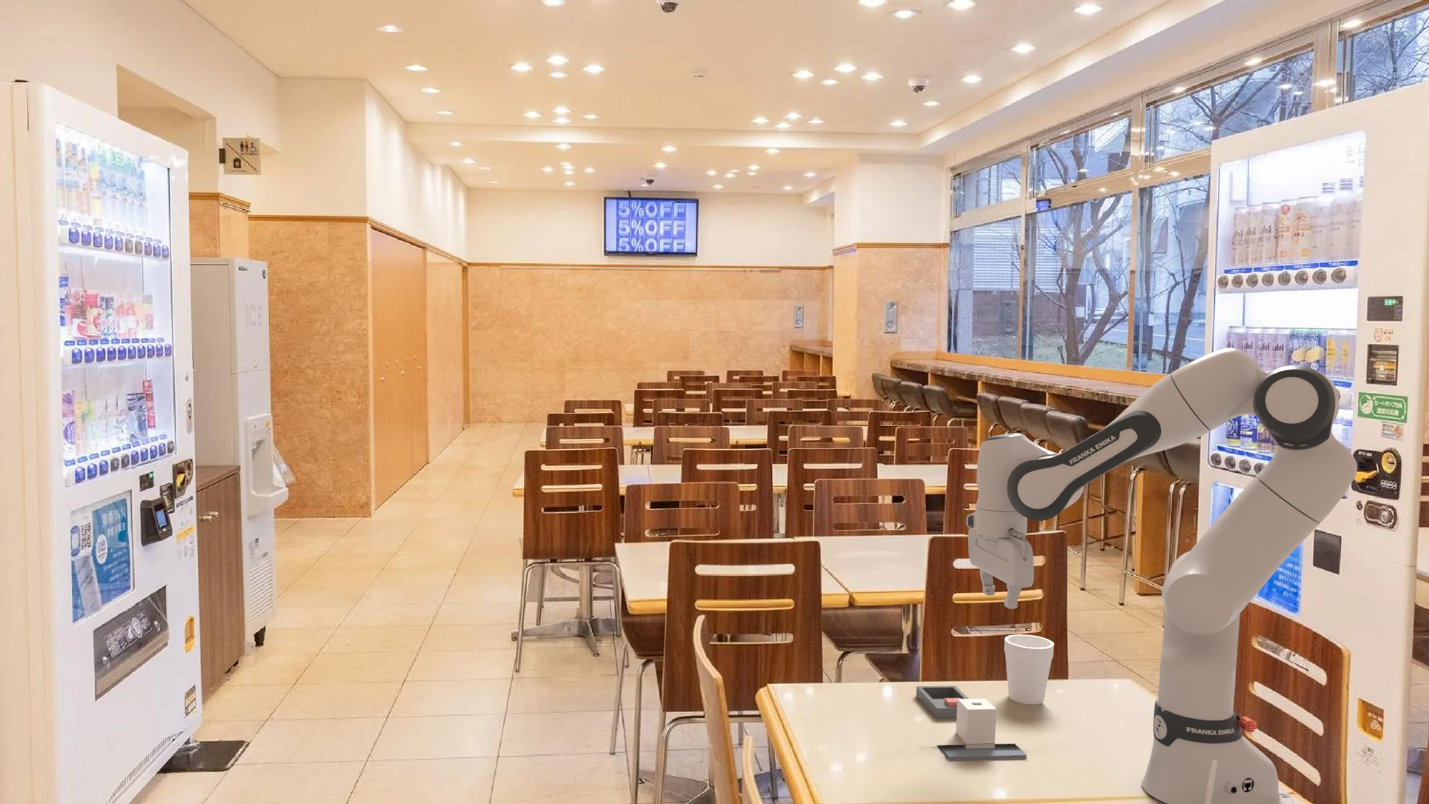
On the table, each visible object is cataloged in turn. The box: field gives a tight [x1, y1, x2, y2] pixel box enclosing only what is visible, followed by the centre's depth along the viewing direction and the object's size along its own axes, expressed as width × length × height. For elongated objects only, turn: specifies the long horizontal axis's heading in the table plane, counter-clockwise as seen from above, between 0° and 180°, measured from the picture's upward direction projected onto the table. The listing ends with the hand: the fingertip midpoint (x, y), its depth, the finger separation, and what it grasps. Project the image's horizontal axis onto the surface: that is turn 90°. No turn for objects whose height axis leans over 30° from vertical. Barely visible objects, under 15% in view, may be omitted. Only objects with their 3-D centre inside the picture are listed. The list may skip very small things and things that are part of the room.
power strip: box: [915, 685, 970, 720], centre depth 200 cm, size 8×12×4 cm, turn 7°
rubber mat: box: [935, 743, 1028, 761], centre depth 185 cm, size 14×12×1 cm
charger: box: [955, 698, 997, 748], centre depth 185 cm, size 5×5×7 cm
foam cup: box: [1003, 634, 1055, 705], centre depth 206 cm, size 10×9×13 cm
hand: (999, 601), depth 185 cm, fingers open, 8 cm apart
